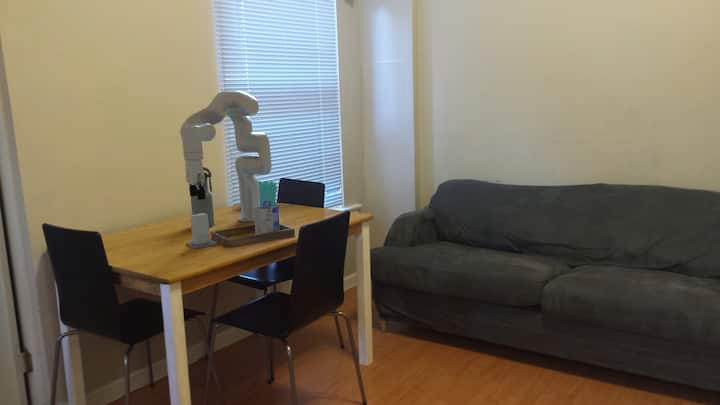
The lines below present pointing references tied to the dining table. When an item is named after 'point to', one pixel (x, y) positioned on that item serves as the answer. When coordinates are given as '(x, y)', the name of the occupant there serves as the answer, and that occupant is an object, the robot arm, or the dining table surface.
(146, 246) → the dining table surface
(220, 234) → the tray frame
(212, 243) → the pad
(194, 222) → the skincare box
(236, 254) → the dining table surface
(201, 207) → the water bottle
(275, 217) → the ink cartridge box
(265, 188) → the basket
